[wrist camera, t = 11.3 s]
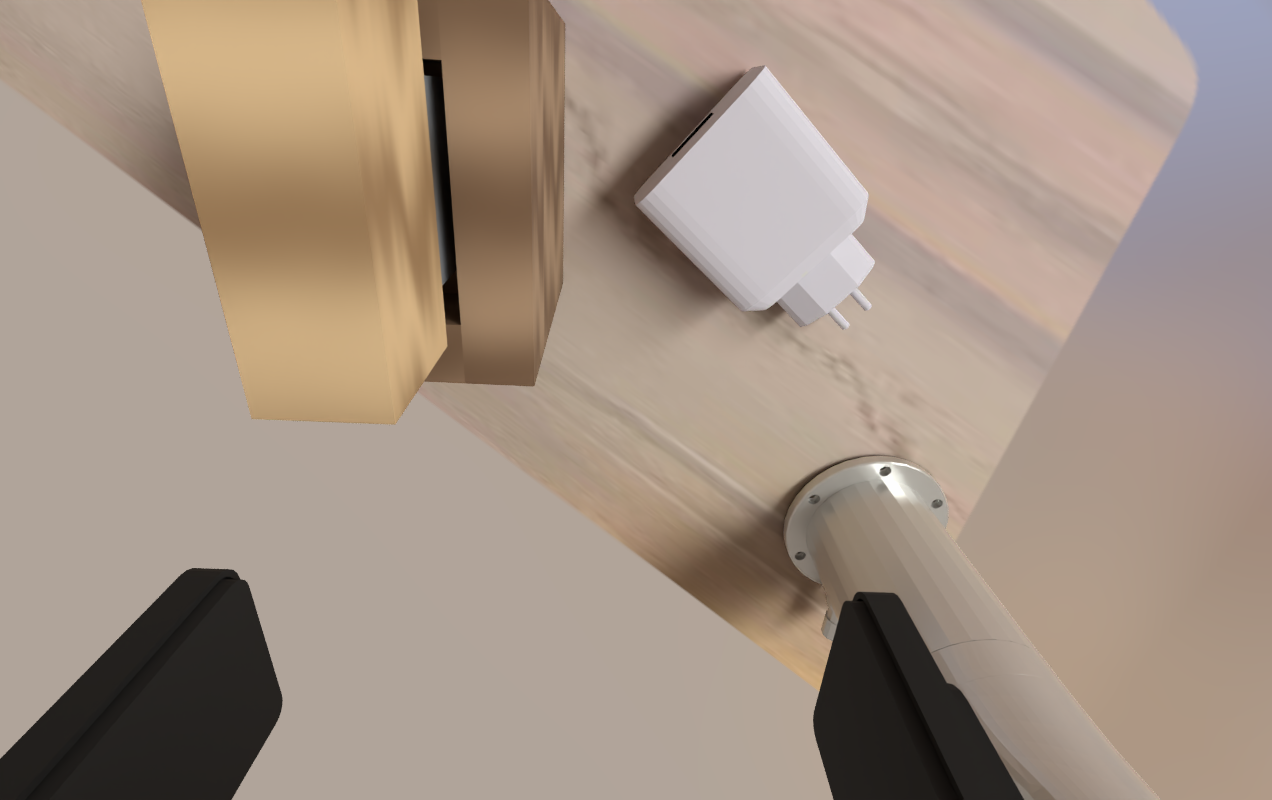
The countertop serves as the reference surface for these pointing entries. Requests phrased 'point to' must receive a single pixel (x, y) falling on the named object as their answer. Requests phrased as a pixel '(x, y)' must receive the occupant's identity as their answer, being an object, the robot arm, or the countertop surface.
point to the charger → (764, 205)
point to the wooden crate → (500, 181)
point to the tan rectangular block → (316, 194)
